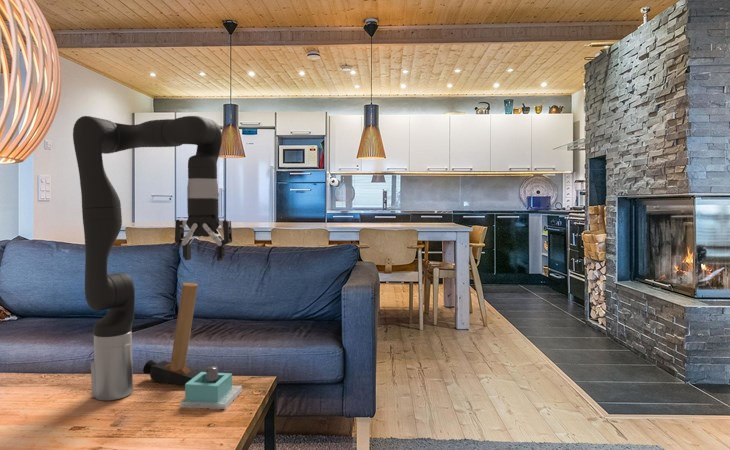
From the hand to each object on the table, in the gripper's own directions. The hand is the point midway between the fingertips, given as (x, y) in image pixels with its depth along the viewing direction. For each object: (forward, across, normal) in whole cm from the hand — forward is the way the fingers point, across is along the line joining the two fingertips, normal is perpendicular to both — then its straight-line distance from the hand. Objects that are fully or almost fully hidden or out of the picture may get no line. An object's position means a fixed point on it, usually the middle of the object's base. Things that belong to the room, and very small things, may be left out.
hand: (203, 260), depth 123 cm
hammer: (+38, -15, +14) cm, 44 cm away
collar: (+37, -1, +4) cm, 37 cm away
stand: (+38, 0, +4) cm, 38 cm away
